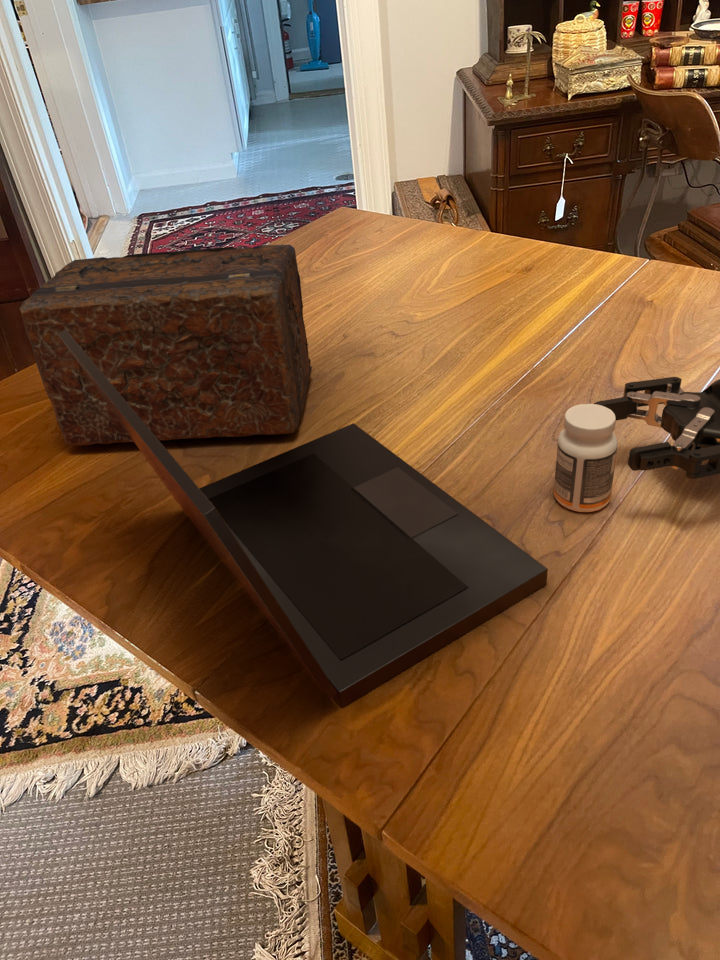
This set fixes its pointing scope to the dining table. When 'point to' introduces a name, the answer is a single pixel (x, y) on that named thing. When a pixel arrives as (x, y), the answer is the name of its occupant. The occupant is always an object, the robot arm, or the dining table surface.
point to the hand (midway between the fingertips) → (610, 435)
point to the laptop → (369, 556)
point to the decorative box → (175, 343)
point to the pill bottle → (586, 458)
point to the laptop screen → (200, 514)
